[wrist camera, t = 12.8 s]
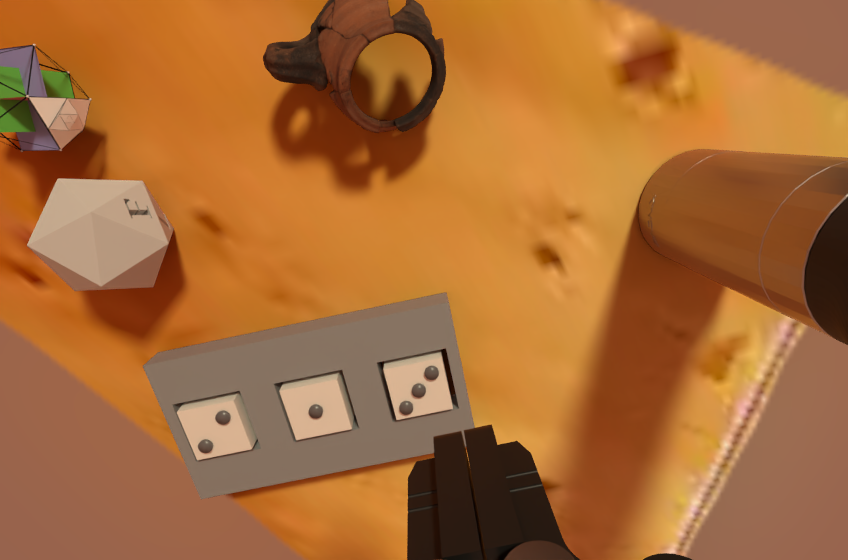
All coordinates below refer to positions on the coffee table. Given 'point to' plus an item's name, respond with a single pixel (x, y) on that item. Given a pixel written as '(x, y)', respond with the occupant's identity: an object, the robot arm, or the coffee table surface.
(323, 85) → the pottery mug
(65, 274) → the die
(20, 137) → the geometric puzzle
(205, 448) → the two pip tile
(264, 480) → the button board
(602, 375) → the coffee table surface
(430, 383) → the three pip tile
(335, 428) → the one pip tile
